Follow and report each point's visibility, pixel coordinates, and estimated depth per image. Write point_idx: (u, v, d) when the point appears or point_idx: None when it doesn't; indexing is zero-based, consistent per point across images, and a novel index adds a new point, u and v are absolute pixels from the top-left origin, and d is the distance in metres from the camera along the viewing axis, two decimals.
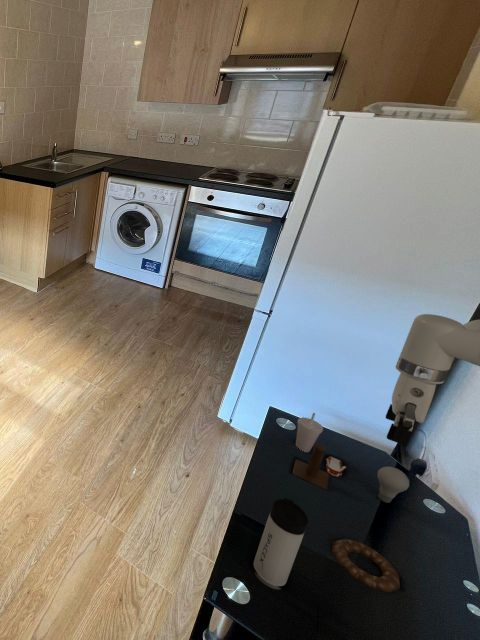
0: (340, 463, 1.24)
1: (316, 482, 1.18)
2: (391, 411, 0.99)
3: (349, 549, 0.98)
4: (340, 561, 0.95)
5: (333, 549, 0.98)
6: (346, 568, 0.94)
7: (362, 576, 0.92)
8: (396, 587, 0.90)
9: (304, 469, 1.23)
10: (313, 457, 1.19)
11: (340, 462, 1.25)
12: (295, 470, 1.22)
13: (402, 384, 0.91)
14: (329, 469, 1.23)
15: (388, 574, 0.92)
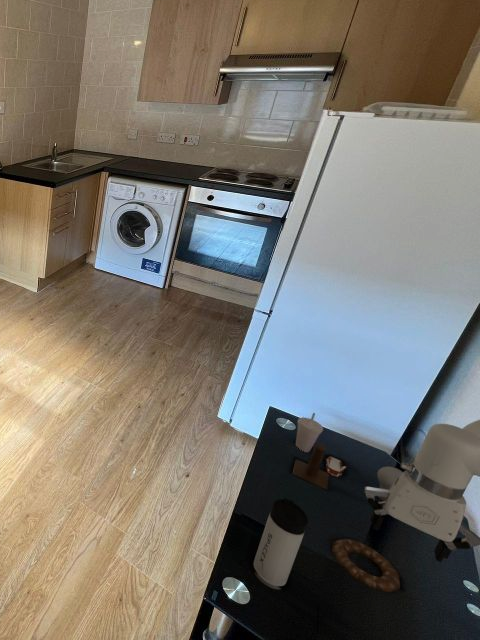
0: (340, 463, 1.24)
1: (316, 482, 1.18)
2: (438, 543, 0.86)
3: (349, 549, 0.98)
4: (340, 561, 0.95)
5: (333, 549, 0.98)
6: (346, 568, 0.94)
7: (362, 576, 0.92)
8: (396, 587, 0.90)
9: (304, 469, 1.23)
10: (313, 457, 1.19)
11: (340, 462, 1.25)
12: (295, 470, 1.22)
13: None
14: (329, 469, 1.23)
15: (388, 574, 0.92)
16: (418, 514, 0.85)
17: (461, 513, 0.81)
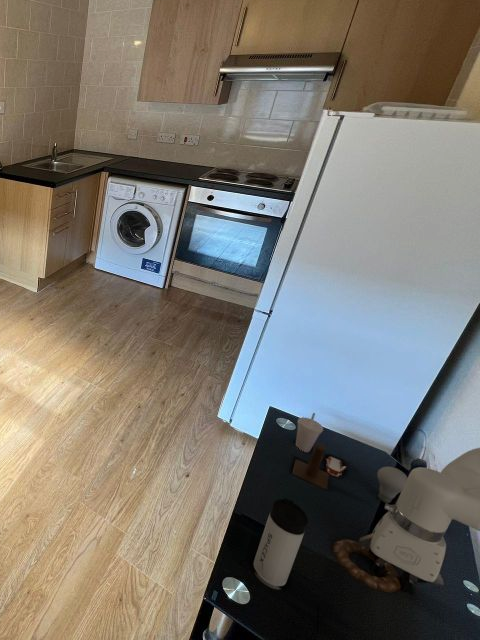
0: (340, 463, 1.24)
1: (316, 482, 1.18)
2: (401, 576, 0.92)
3: (350, 549, 0.98)
4: (341, 561, 0.95)
5: (334, 549, 0.98)
6: (347, 569, 0.94)
7: (362, 577, 0.92)
8: (397, 588, 0.90)
9: (304, 469, 1.23)
10: (313, 457, 1.19)
11: (340, 462, 1.25)
12: (295, 470, 1.22)
13: None
14: (329, 469, 1.23)
15: (389, 575, 0.92)
16: (401, 554, 0.88)
17: (441, 555, 0.84)
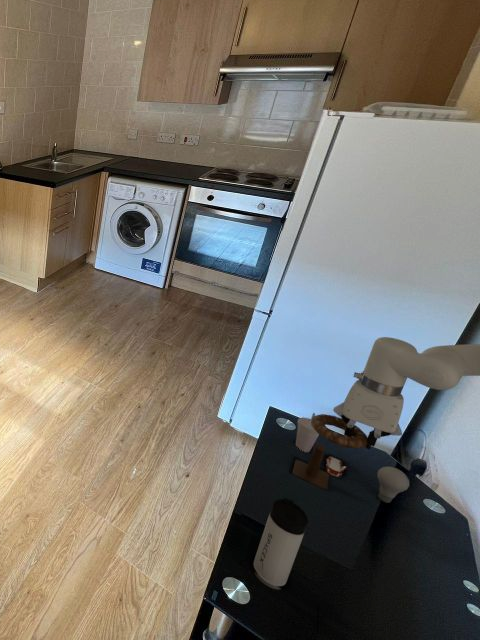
0: (340, 463, 1.24)
1: (316, 482, 1.18)
2: (368, 435, 1.08)
3: (326, 420, 1.14)
4: (318, 428, 1.11)
5: (312, 421, 1.14)
6: (322, 432, 1.10)
7: (335, 436, 1.07)
8: (364, 443, 1.06)
9: (304, 469, 1.23)
10: (313, 457, 1.19)
11: (340, 462, 1.25)
12: (295, 470, 1.22)
13: None
14: (329, 469, 1.23)
15: (358, 435, 1.08)
16: (367, 412, 1.04)
17: (400, 407, 1.00)
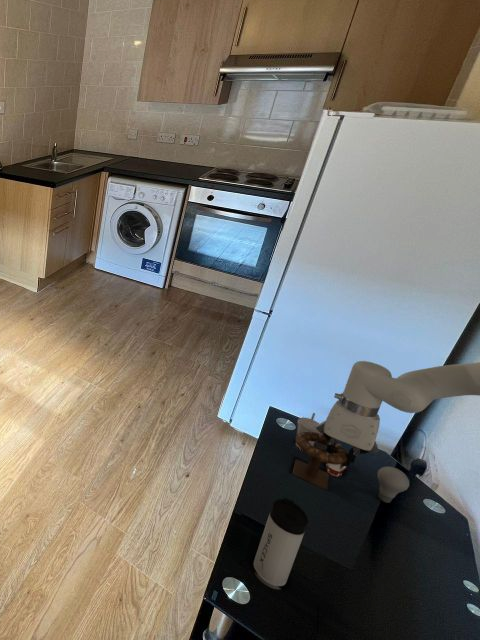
0: None
1: (316, 482, 1.18)
2: None
3: (309, 437, 1.21)
4: (301, 444, 1.18)
5: (296, 437, 1.21)
6: (305, 448, 1.17)
7: (317, 453, 1.15)
8: (344, 460, 1.13)
9: (304, 469, 1.23)
10: None
11: None
12: (295, 470, 1.22)
13: None
14: (329, 469, 1.23)
15: (338, 452, 1.15)
16: (346, 431, 1.11)
17: (376, 427, 1.07)
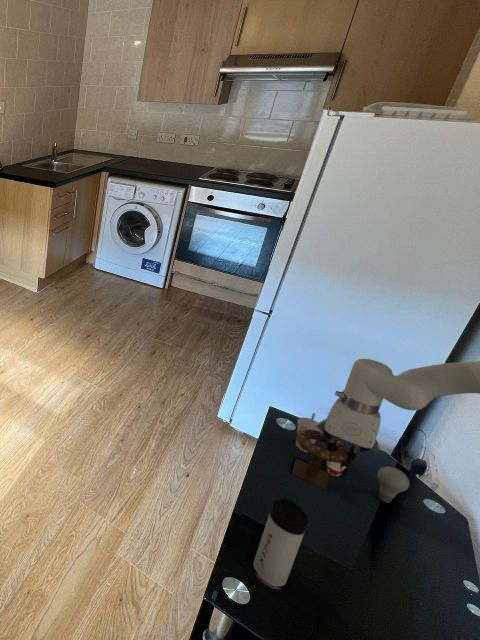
0: (340, 463, 1.24)
1: (316, 482, 1.18)
2: (349, 450, 1.15)
3: (310, 435, 1.21)
4: (302, 442, 1.18)
5: (297, 435, 1.21)
6: (306, 446, 1.17)
7: (318, 451, 1.14)
8: (345, 457, 1.13)
9: (304, 469, 1.23)
10: (313, 457, 1.19)
11: (340, 462, 1.25)
12: (295, 470, 1.22)
13: None
14: (329, 469, 1.23)
15: (339, 449, 1.15)
16: (347, 429, 1.11)
17: (377, 425, 1.07)
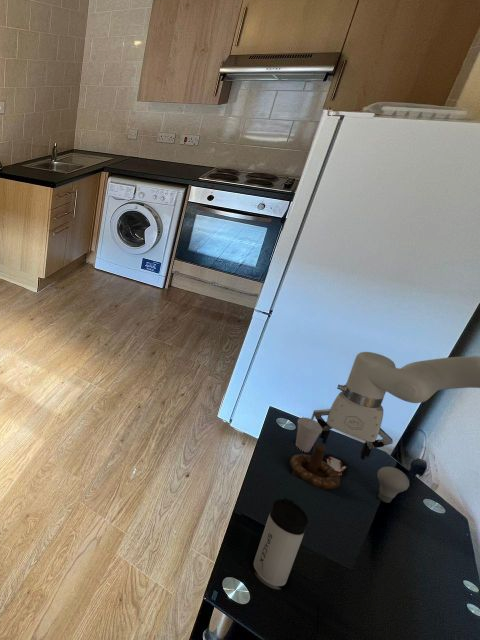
0: (340, 463, 1.24)
1: None
2: (363, 446, 1.12)
3: (303, 460, 1.23)
4: (295, 468, 1.21)
5: (290, 461, 1.23)
6: (299, 472, 1.19)
7: (310, 477, 1.17)
8: (337, 484, 1.15)
9: None
10: (313, 457, 1.19)
11: (340, 462, 1.25)
12: None
13: None
14: None
15: (331, 476, 1.17)
16: (350, 423, 1.10)
17: (379, 418, 1.06)
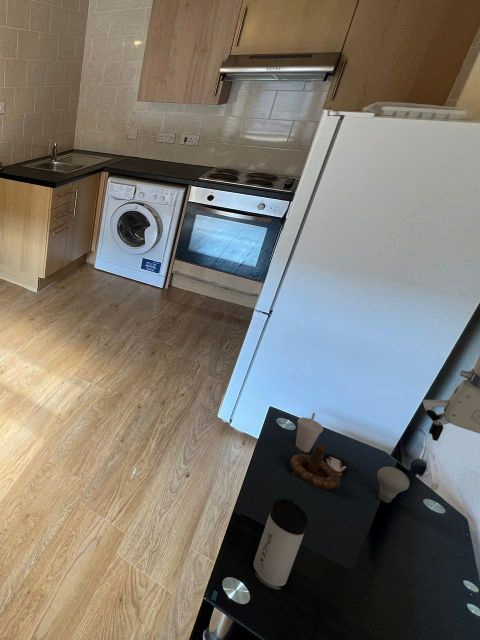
0: (340, 463, 1.24)
1: None
2: None
3: (303, 460, 1.23)
4: (295, 468, 1.21)
5: (290, 461, 1.23)
6: (299, 472, 1.19)
7: (310, 477, 1.17)
8: (337, 484, 1.15)
9: None
10: (313, 457, 1.19)
11: (340, 462, 1.25)
12: None
13: None
14: None
15: (331, 476, 1.17)
16: (479, 418, 0.88)
17: None
